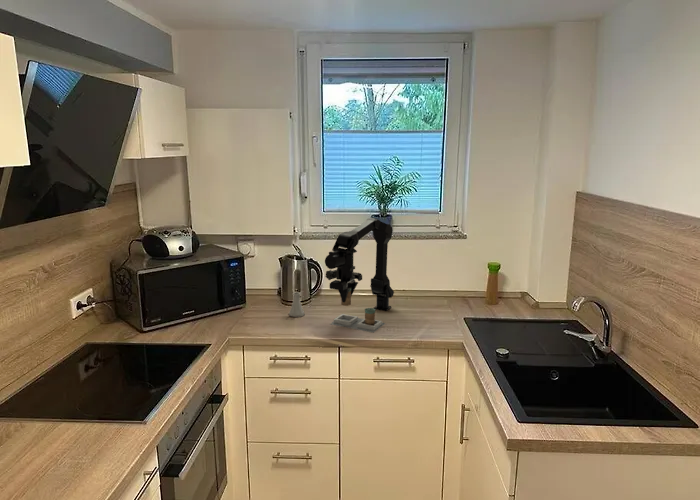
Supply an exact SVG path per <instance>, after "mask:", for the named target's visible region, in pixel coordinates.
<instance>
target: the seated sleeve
mask: <svg viewBox="0 0 700 500" xmlns="http://www.w3.org/2000/svg"><path fill="white" fill-rule="evenodd" d="M375 318H376V309H374V307H373V308H372V307H368V308H364V319H365V324H367V325H372V326H373V325H375V320H376V319H375Z"/></svg>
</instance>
